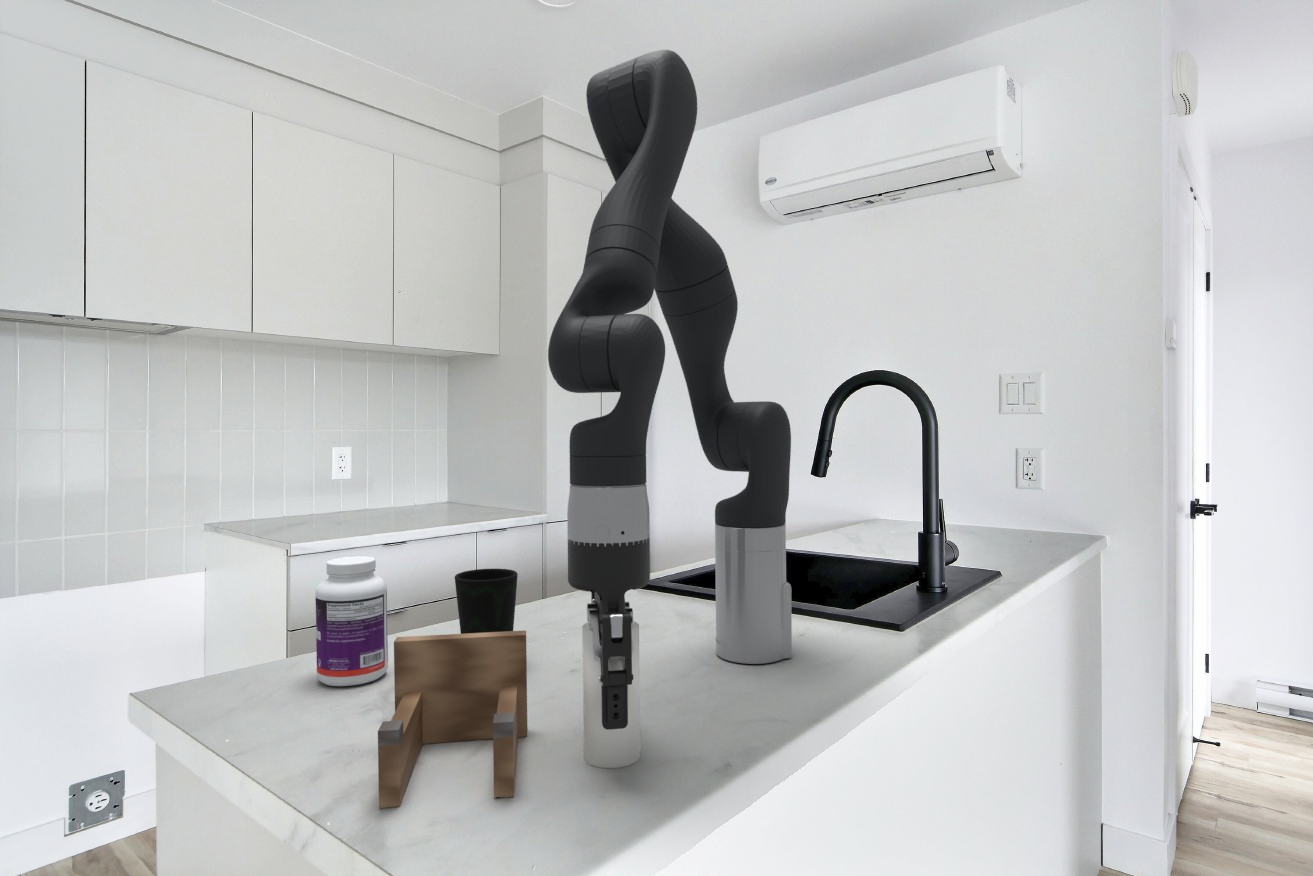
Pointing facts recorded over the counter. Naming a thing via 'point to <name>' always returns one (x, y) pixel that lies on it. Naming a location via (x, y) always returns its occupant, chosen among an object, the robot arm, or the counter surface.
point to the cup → (486, 600)
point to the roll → (599, 742)
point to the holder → (454, 703)
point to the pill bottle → (351, 623)
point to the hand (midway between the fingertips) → (610, 709)
